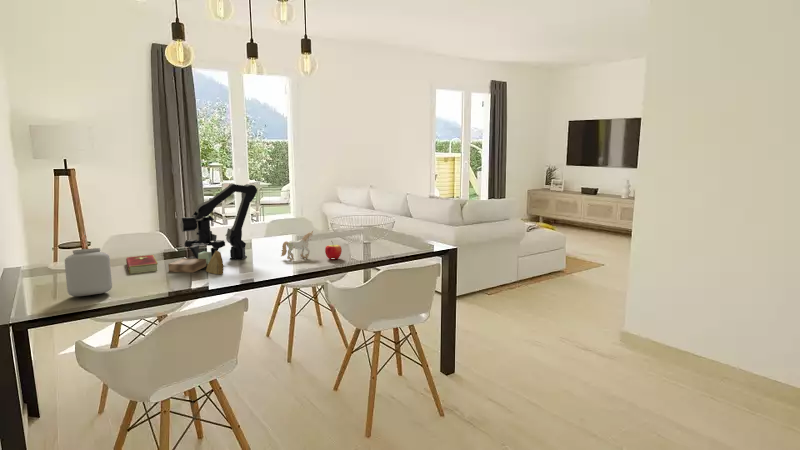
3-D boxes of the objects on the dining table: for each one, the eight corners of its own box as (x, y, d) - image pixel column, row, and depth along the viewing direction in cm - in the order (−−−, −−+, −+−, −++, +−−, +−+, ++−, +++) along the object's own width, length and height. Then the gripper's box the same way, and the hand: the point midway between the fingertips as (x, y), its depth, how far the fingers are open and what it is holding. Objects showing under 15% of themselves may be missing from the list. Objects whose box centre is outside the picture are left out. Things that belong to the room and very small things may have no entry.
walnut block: (206, 267, 240) (205, 258, 239) (193, 273, 228) (192, 264, 227) (183, 266, 241) (182, 258, 240) (168, 272, 229) (168, 263, 229)
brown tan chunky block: (229, 269, 224) (230, 261, 233) (216, 256, 221) (217, 248, 230) (210, 284, 224) (211, 275, 233) (196, 271, 220) (198, 263, 229)
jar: (68, 291, 197) (62, 230, 193) (111, 286, 205) (106, 227, 201) (67, 304, 181) (60, 237, 177) (113, 298, 189) (108, 234, 185)
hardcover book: (129, 274, 224) (128, 265, 224) (126, 265, 242) (125, 256, 241) (158, 271, 231) (157, 262, 230) (153, 262, 248) (153, 254, 248)
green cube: (213, 261, 249) (212, 252, 248) (208, 264, 244) (207, 254, 243) (203, 261, 250) (203, 251, 249) (198, 263, 245) (198, 253, 244)
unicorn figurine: (320, 257, 261) (319, 232, 259) (286, 262, 249) (285, 236, 246) (313, 254, 266) (313, 230, 264) (280, 259, 254) (279, 234, 252)
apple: (322, 260, 254) (322, 241, 252) (330, 256, 262) (330, 238, 260) (336, 261, 251) (336, 242, 249) (344, 258, 259) (344, 239, 257)
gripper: (229, 227, 251) (230, 257, 254) (194, 226, 253) (196, 256, 256) (218, 231, 240) (220, 262, 243) (182, 230, 242) (184, 261, 245)
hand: (205, 260), depth 247 cm, fingers open, 8 cm apart
